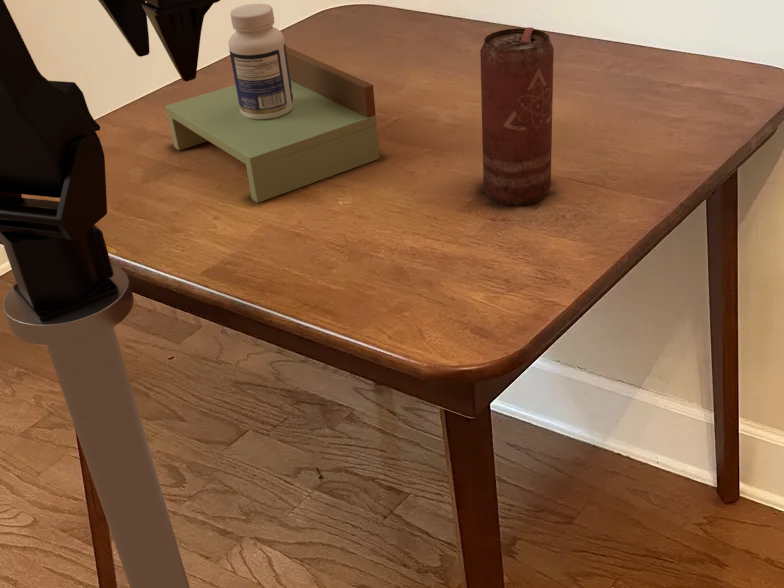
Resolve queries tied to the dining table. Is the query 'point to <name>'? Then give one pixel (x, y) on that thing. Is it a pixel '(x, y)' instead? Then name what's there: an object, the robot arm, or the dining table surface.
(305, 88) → the shelf
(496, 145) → the can
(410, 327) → the dining table surface
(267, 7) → the pill bottle
